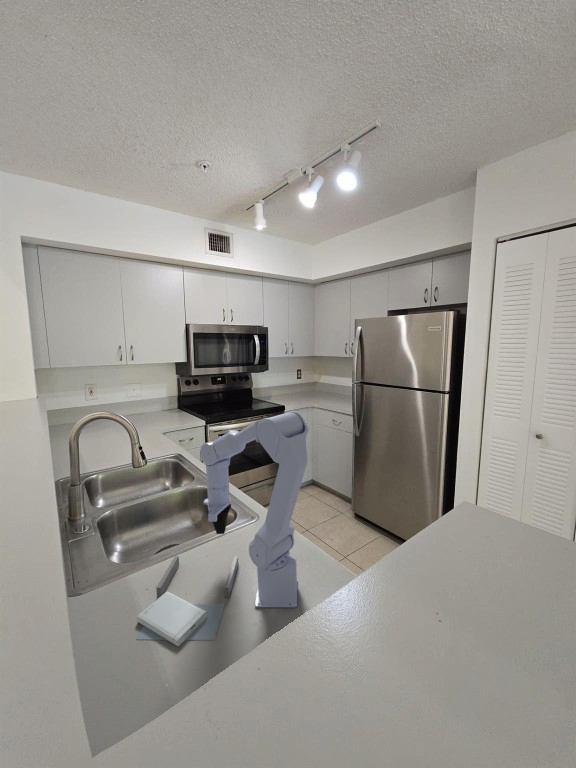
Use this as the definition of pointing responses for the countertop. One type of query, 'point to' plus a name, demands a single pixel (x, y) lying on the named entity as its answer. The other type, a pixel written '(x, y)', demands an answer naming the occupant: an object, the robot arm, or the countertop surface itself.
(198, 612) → the hard drive
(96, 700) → the countertop surface
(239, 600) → the countertop surface
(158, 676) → the countertop surface
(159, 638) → the mat
